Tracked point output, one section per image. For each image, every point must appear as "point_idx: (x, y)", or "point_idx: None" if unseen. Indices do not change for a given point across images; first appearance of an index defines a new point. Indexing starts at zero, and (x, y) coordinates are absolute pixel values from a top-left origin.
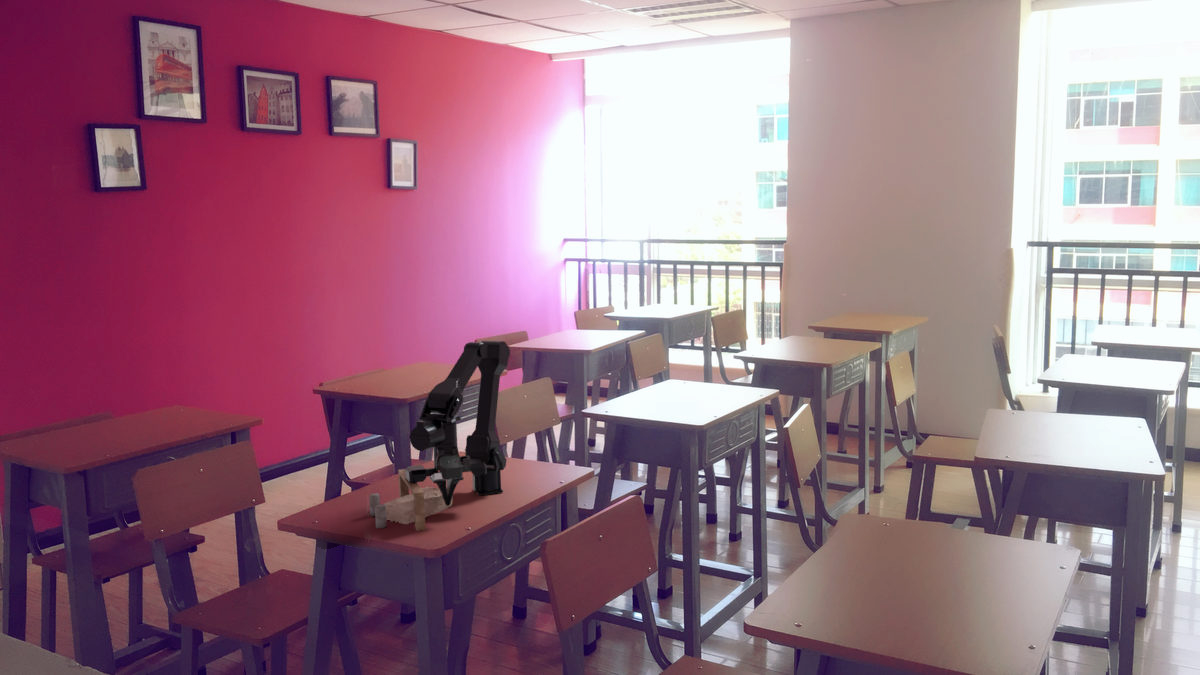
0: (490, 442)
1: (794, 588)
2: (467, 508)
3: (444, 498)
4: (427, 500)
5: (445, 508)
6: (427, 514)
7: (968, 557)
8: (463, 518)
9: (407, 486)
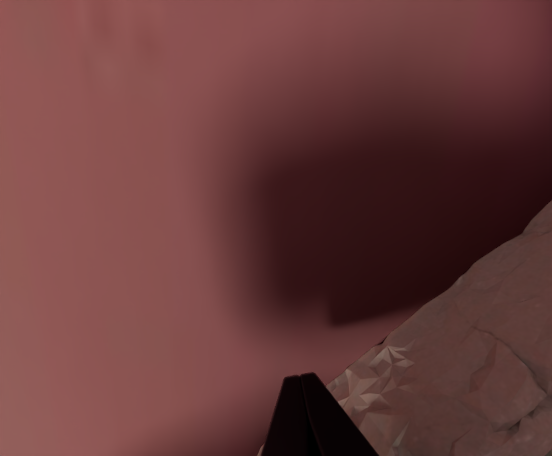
0: None
1: None
2: (147, 389)
3: (358, 433)
4: (541, 419)
5: None
6: (457, 293)
7: None
8: (172, 146)
9: None
